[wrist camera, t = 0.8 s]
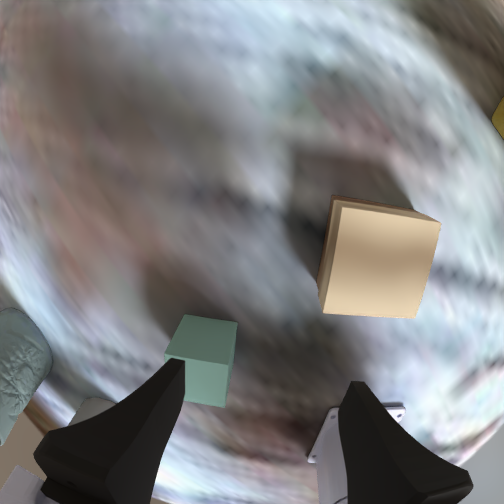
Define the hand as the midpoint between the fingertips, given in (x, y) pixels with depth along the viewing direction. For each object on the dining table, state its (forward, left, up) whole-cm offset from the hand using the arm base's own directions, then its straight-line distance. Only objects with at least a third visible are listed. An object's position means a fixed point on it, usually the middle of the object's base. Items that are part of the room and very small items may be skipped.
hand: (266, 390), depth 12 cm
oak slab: (+4, -6, -8) cm, 11 cm away
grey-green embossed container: (-11, +25, -10) cm, 29 cm away
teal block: (-5, +4, -10) cm, 11 cm away
